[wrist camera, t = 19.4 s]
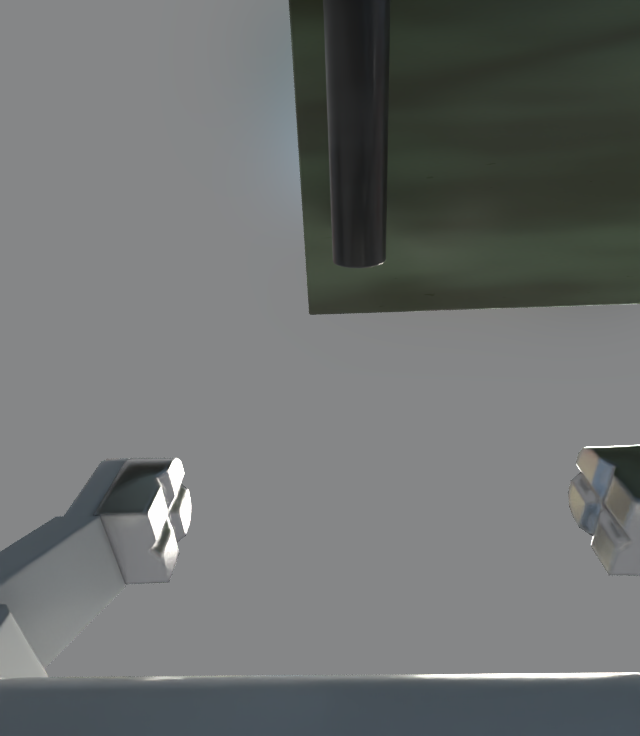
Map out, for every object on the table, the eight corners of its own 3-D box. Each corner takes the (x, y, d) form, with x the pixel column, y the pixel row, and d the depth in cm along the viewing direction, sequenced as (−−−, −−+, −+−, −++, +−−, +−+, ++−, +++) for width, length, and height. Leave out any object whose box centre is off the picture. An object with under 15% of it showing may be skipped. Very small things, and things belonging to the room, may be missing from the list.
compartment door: (212, -698, 7) (299, 375, 15) (1670, -933, 6) (890, 360, 14) (270, -323, 12) (310, 307, 20) (1006, -407, 11) (733, 292, 19)
